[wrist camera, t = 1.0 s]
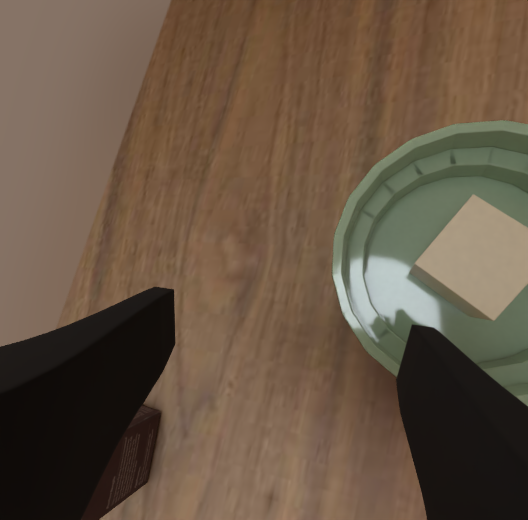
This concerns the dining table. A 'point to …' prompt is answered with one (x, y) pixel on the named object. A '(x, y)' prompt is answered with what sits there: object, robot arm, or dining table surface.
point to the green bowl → (422, 235)
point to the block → (477, 260)
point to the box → (126, 465)
